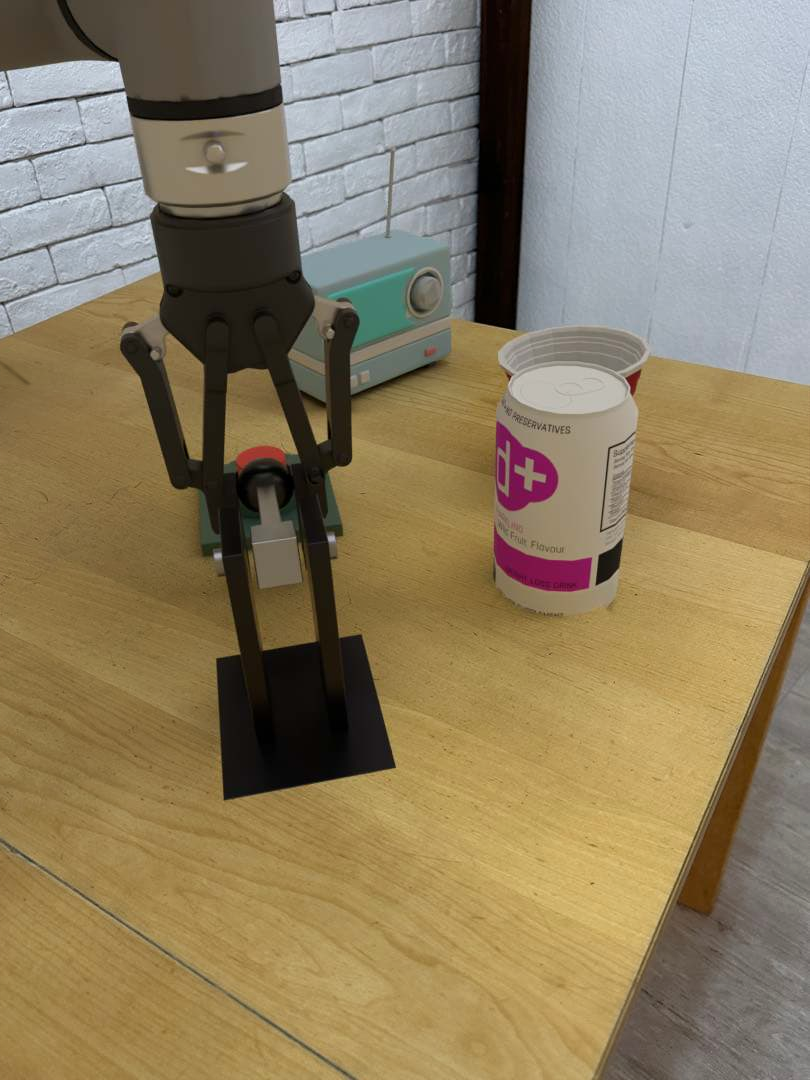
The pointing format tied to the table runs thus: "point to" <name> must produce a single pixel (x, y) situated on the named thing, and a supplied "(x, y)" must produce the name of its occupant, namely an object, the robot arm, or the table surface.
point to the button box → (253, 519)
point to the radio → (380, 306)
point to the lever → (270, 522)
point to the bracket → (294, 681)
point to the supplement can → (562, 486)
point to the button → (259, 455)
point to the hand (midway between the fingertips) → (276, 562)
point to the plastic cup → (578, 350)
